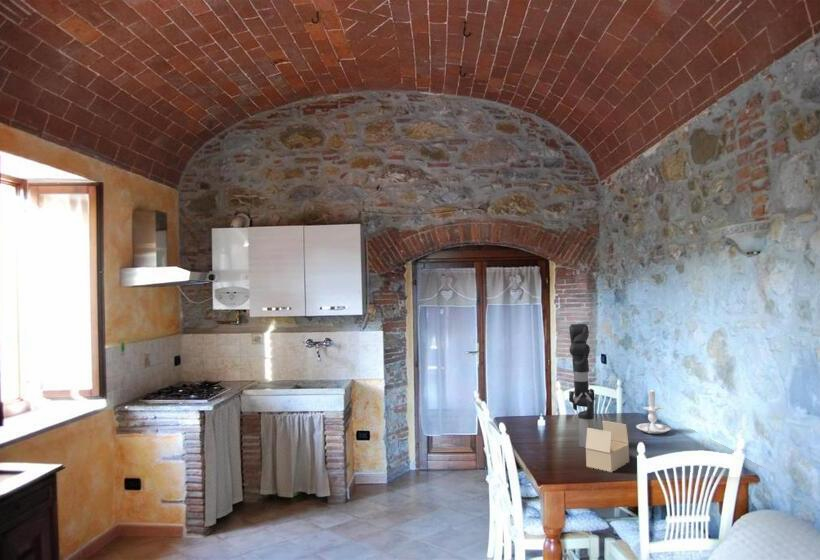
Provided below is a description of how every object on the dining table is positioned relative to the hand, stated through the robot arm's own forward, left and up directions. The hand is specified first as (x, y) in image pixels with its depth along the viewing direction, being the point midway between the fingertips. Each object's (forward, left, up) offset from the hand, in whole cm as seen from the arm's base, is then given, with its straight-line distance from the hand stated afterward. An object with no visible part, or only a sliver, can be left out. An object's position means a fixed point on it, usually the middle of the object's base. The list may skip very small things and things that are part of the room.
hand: (582, 409), depth 289 cm
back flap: (-19, +9, -15) cm, 26 cm away
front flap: (+1, +9, -15) cm, 18 cm away
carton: (-8, +9, -31) cm, 33 cm away
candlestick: (-83, +4, -31) cm, 89 cm away
